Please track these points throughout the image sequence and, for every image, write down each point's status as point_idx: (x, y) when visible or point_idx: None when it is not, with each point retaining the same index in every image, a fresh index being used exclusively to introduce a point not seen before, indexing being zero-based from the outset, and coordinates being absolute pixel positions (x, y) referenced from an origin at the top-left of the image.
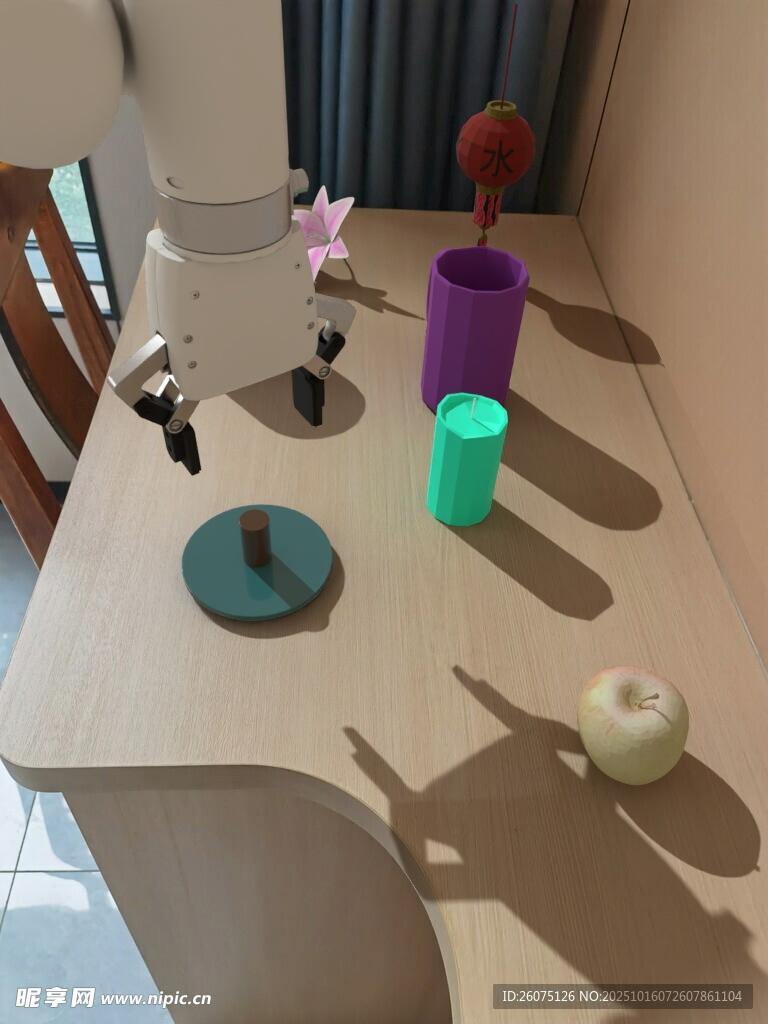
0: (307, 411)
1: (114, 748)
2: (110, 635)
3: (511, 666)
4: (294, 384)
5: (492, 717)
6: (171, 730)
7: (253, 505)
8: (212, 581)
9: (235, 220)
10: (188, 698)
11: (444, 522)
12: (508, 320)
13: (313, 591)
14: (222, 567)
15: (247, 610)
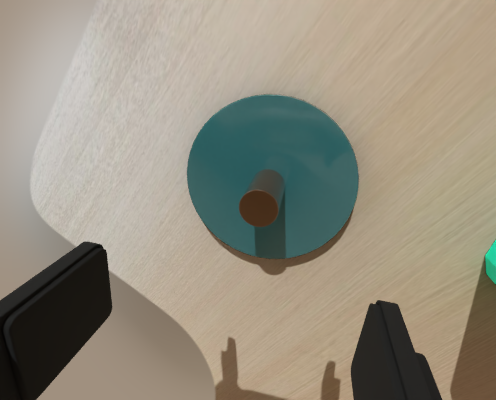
0: (358, 378)
1: None
2: (114, 158)
3: None
4: (382, 374)
5: (318, 396)
6: (128, 262)
7: (317, 109)
8: (210, 182)
9: None
10: (148, 251)
11: (486, 267)
12: None
13: (285, 256)
14: (228, 172)
15: (220, 232)
